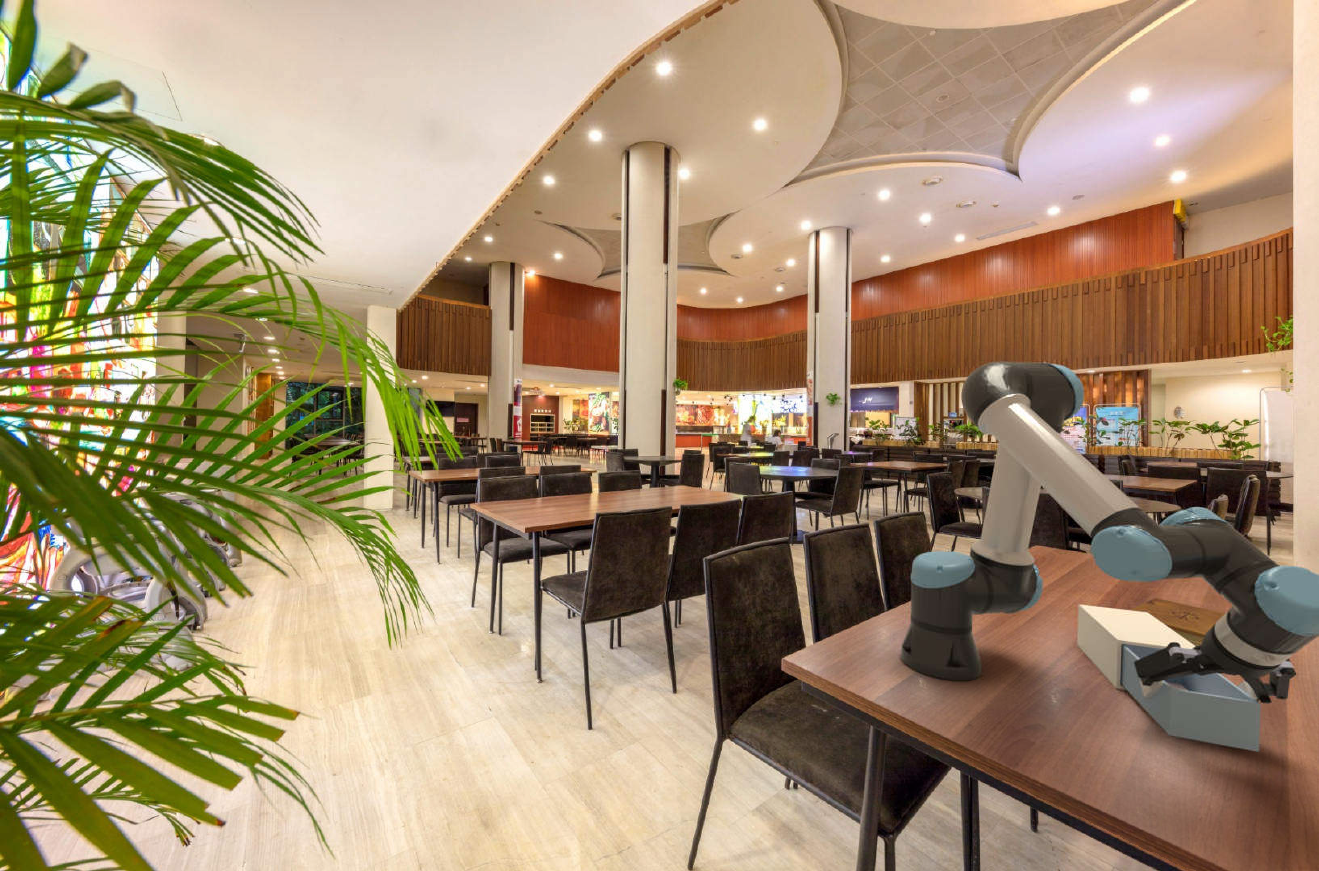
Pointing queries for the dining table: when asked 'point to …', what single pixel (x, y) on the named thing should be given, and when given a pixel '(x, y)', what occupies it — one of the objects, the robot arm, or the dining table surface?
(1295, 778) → the dining table surface
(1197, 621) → the diary
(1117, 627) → the mailer sleeve
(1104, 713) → the dining table surface
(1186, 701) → the tray
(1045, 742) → the dining table surface
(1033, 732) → the dining table surface
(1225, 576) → the robot arm
